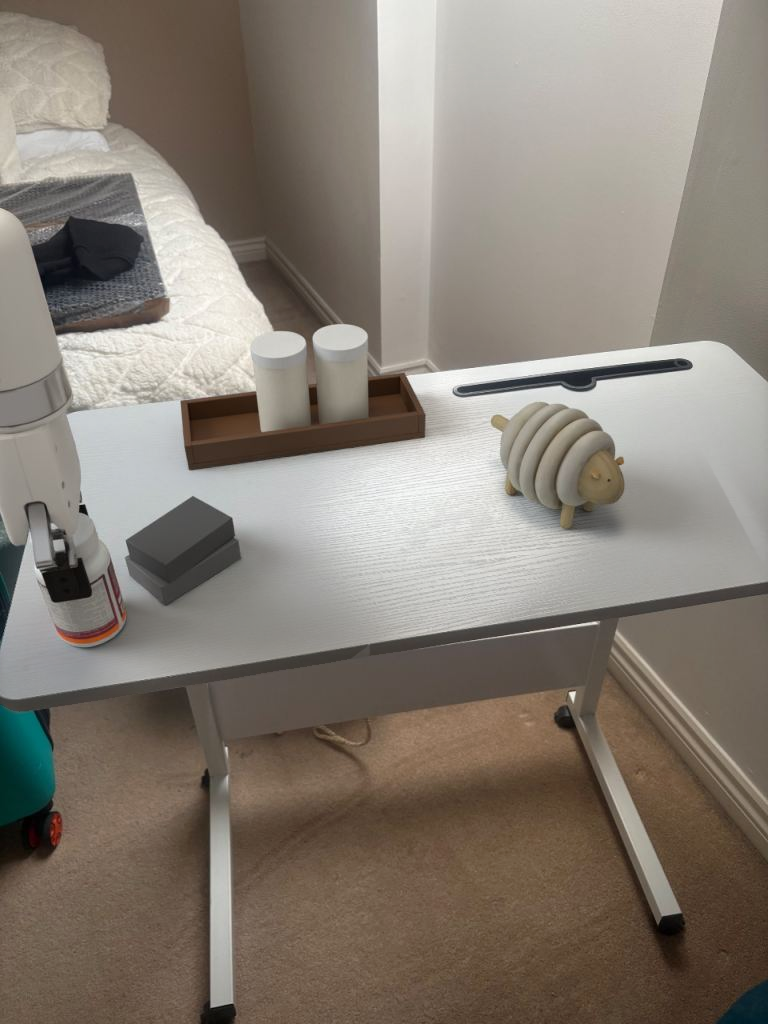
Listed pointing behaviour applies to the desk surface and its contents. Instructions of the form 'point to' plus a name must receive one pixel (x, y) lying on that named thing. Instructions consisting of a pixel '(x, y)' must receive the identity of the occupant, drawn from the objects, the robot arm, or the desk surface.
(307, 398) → the white bottle
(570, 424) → the toy sheep
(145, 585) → the grey books
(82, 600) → the pill bottle
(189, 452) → the tray
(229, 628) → the desk surface
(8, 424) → the robot arm
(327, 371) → the white bottle
